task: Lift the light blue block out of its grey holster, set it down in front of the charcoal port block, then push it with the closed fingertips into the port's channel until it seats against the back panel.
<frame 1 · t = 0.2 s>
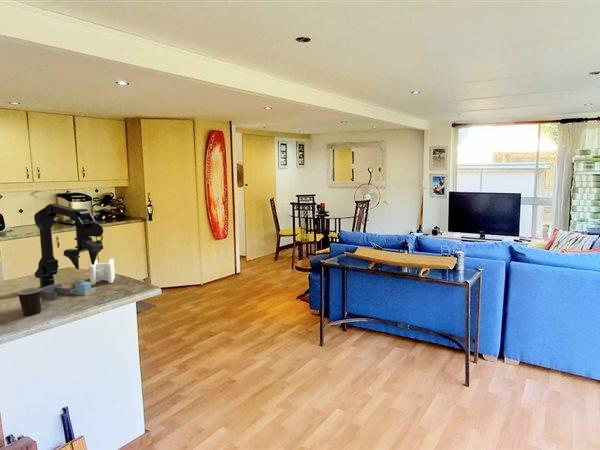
hand: (85, 266, 205), 14 cm above the countertop, tool pointing down, fingers open, 9 cm apart
light blue block: (83, 292, 206), point 1 cm above the countertop, touching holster
cable organizer: (103, 282, 226), on the countertop
coffee mug: (30, 315, 181), on the countertop
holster: (83, 294, 206), on the countertop
port: (52, 297, 203), on the countertop
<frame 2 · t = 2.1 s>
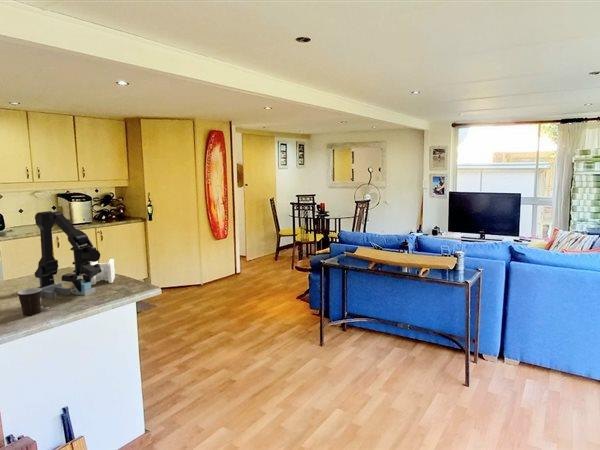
hand: (83, 290, 206), 2 cm above the countertop, tool pointing down, fingers closed on light blue block, 4 cm apart
light blue block: (83, 292, 206), point 1 cm above the countertop, touching gripper, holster
everything else where it was.
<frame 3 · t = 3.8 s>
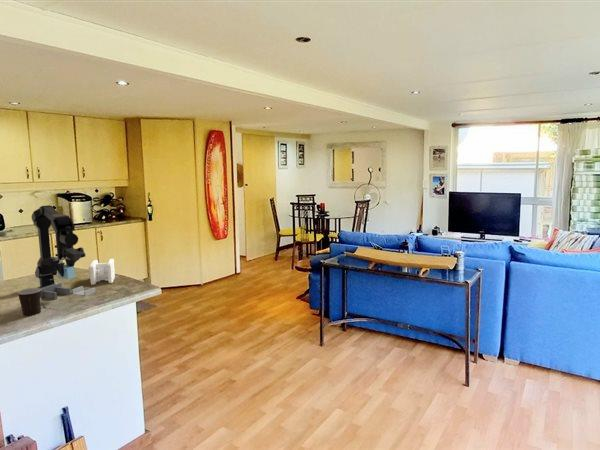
hand: (66, 275, 198), 12 cm above the countertop, tool pointing down, fingers closed on light blue block, 4 cm apart
light blue block: (66, 277, 198), point 11 cm above the countertop, touching gripper
everything else where it was.
when the fingers open (2 cm above the countertop, at t = 5.5 s): light blue block drops 1 cm, on the countertop.
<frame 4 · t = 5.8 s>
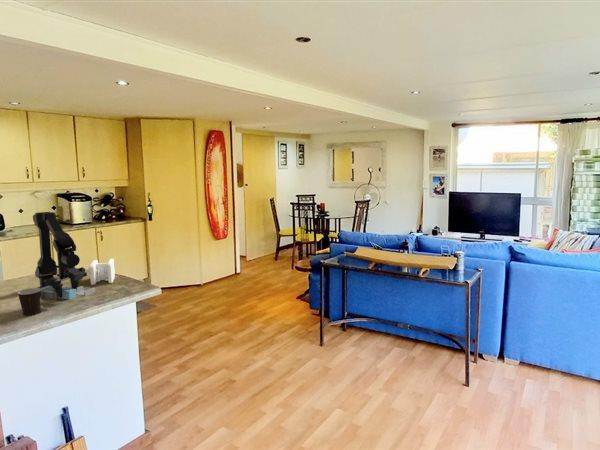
hand: (68, 295, 199), 2 cm above the countertop, tool pointing down, fingers open, 7 cm apart
light blue block: (68, 299, 199), on the countertop
everything else where it was.
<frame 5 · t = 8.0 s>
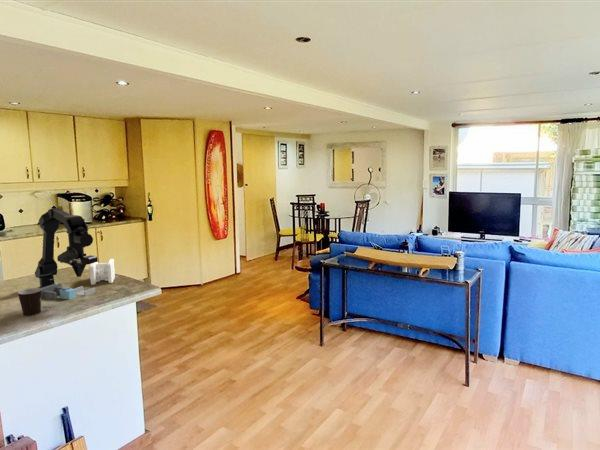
hand: (79, 276, 195), 12 cm above the countertop, tool pointing down, fingers closed
nothing on the countertop moved.
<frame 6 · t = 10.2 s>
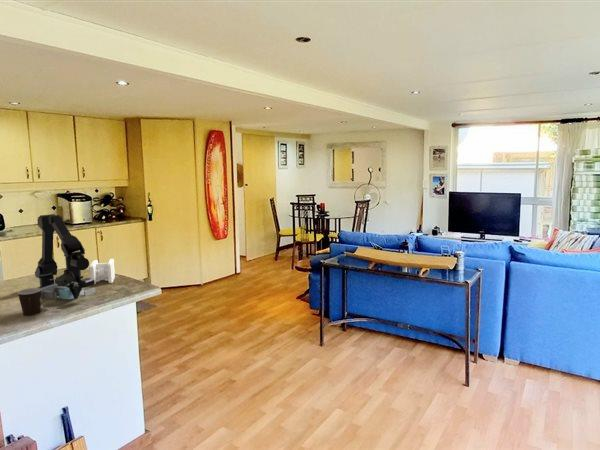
hand: (76, 298, 198), 1 cm above the countertop, tool pointing down, fingers closed
light blue block: (67, 299, 200), on the countertop, touching gripper
everything else where it was.
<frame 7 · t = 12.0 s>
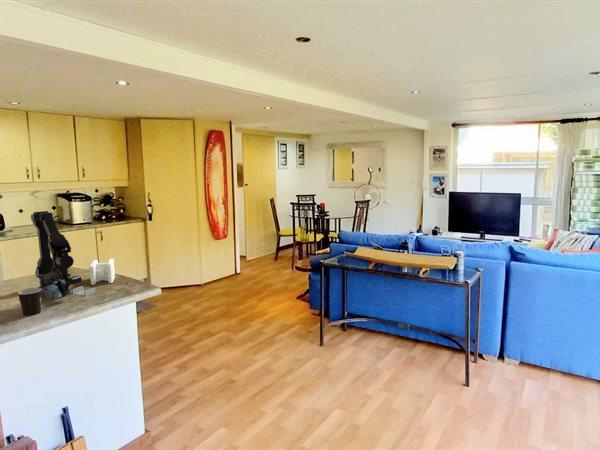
hand: (64, 296, 200), 1 cm above the countertop, tool pointing down, fingers closed
light blue block: (56, 297, 202), resting in port, touching gripper
everything else where it was.
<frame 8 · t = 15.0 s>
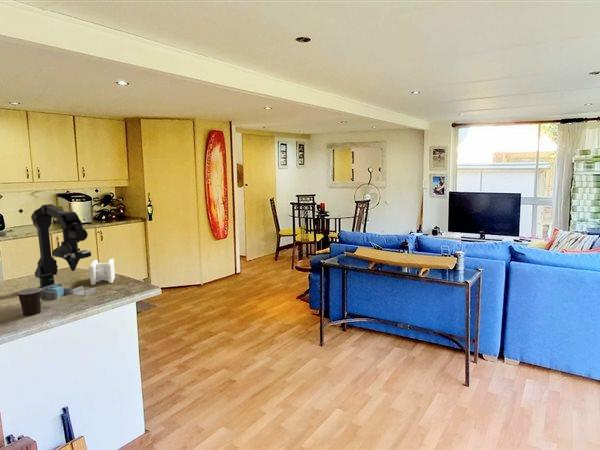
hand: (73, 270, 201), 13 cm above the countertop, tool pointing down, fingers closed
light blue block: (56, 297, 202), resting in port
everything else where it was.
at the end: light blue block 0.3 cm from the target spot, resting in port; light blue block tilted 0° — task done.
